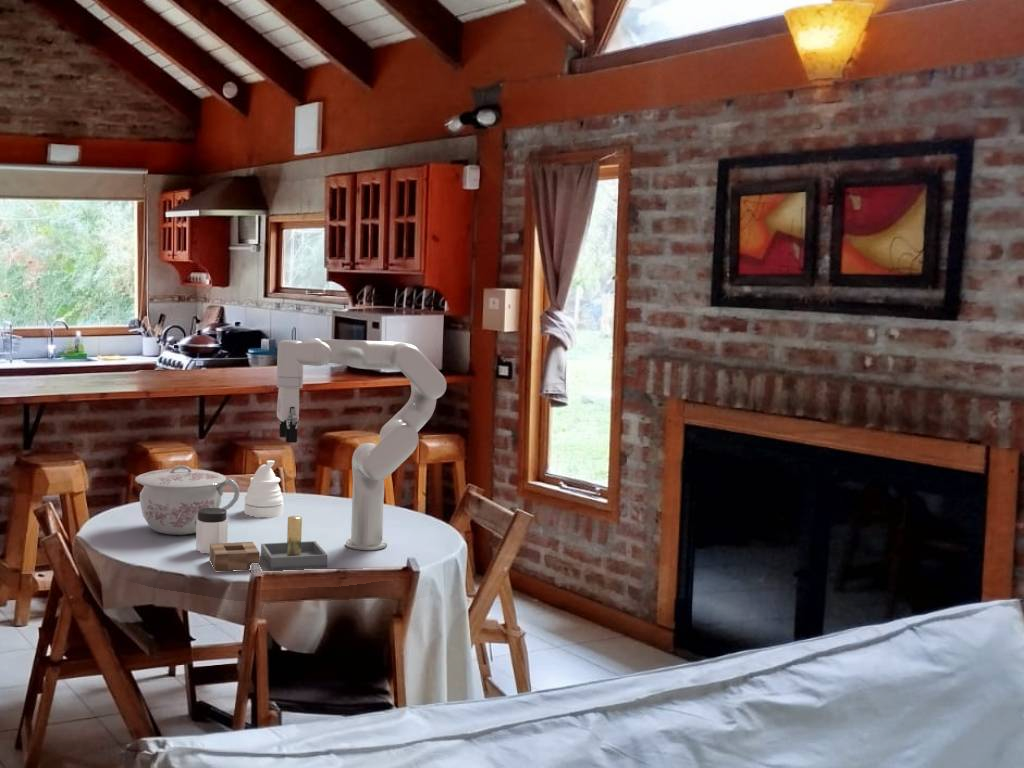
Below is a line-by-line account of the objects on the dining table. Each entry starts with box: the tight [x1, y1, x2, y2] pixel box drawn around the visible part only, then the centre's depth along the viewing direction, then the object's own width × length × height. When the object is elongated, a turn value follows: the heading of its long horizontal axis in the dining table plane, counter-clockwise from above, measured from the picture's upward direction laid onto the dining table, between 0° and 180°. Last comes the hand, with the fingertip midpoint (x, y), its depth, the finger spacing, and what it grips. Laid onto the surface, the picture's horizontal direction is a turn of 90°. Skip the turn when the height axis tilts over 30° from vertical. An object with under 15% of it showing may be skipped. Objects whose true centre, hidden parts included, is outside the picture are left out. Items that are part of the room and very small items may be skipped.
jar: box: [195, 507, 229, 554], centre depth 339 cm, size 9×8×12 cm
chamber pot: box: [134, 464, 241, 536], centre depth 360 cm, size 28×28×21 cm
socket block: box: [209, 541, 261, 572], centre depth 325 cm, size 12×12×5 cm
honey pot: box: [243, 460, 284, 519], centre depth 389 cm, size 13×13×18 cm
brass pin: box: [286, 515, 303, 556], centre depth 332 cm, size 4×4×12 cm
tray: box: [260, 540, 329, 571], centre depth 333 cm, size 16×16×4 cm
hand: (288, 439), depth 341 cm, fingers open, 9 cm apart
